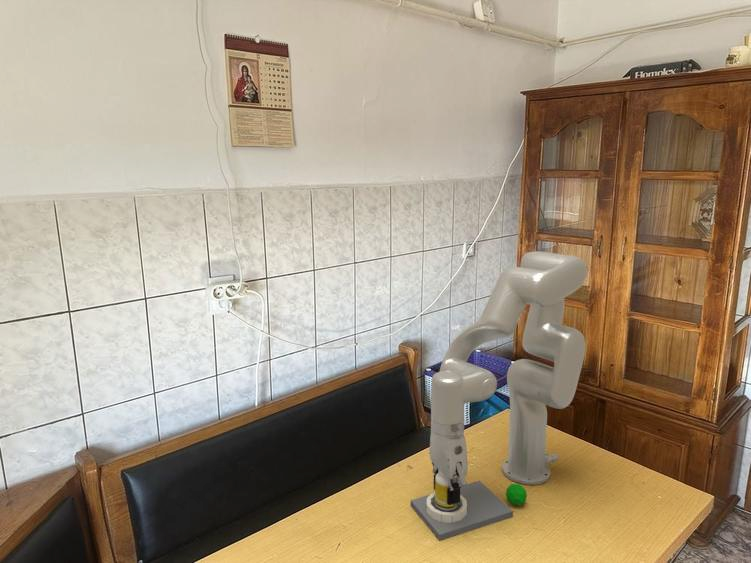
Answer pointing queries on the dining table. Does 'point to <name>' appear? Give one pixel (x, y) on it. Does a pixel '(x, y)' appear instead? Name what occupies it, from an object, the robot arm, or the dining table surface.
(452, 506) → the supplement bottle
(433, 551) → the dining table surface
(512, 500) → the polyhedron
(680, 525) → the dining table surface
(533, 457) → the robot arm
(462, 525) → the pin board
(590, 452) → the dining table surface
